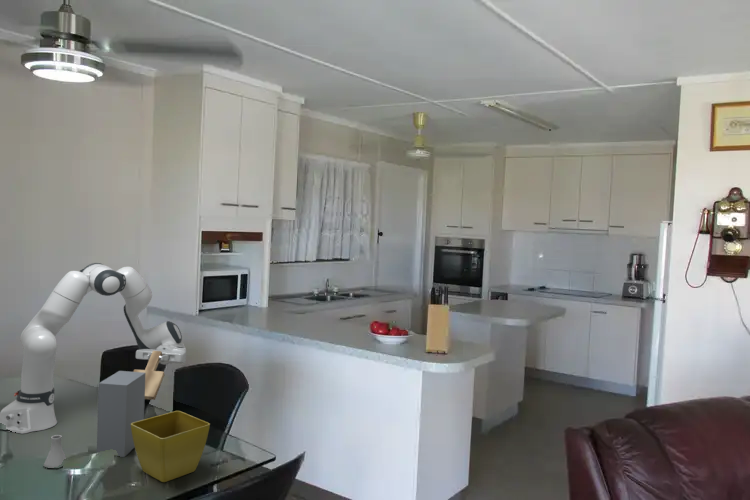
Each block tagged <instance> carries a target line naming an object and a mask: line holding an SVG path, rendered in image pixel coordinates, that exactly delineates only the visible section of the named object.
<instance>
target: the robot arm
mask: <svg viewBox="0 0 750 500" xmlns="http://www.w3.org/2000/svg"><path fill="white" fill-rule="evenodd" d="M92 291H94V292H95V293H98V294H100V296H101V295H102V296H105V297H106V296H107V297H108V296H114V295H115V294H118V293H120V294H121V296H122V298H123V299H124V303H125V304H124V305H123V314H124V316H125V319H126V321H127V323H128V325H129V328H130V330H131V332H132V333H133V336H134V339H135V341H136V345H137V347H138V349H137V350H136V351H135V359H137V360H147V361H149V359H150V357H151V354H152V352H153V351H161V352H162V356H159V360H160V361H159V364H160V365H169V364H170V365H172V364H185V363H186V360H187V348H186V346H185V345H186V344H184V342H183V341H182V340H183V336H182V333H181V332H182V331H181V330H180V328H179V326H178V325H177V324H176V323H174V322H172V321H170V320H169V321H168V320H167V321H165V322H162V323H159V324H157V325H155V326H152V327H151V328H149V329H145V328H144V327H143V325H142V322H141V320H140V319H139V314H141V313H142V312H143V311H144V310H145V309H146V308H147V307H148V306H149V304H150V302H151V300H152V297H153V294H152V289H151V287H150V285H149V284H148V283H147V281H146V279H144V278H143V276H142V275H141V274H140V273H139V272H138V271H137V270H136V269H135V268H134V267H132V266H130V265H129V266H123V267H120V268H119V269H117V270H115V269H113V268H111V267H110V266H108V265H105V264H104V263H101V262H100V263H99V262H92V263H90V264H88V265H86V266H85V267H84V268H82V269H80V270H70V271H68V272H67V273H65V275H64V276H63V277H62V278H61V279H60V280H59V282H58V283H57V284H56V285H55V286H54V288H53V290H52V292H50V294H49V296H48V297H47V299H46V301H45V302H44V303H43V305H42V307H40V309H39V311H37V313H36V314H35V315H34V317H32V319H31V320H30V321H29V322H28V324H27V326H26V327H25V328H24V329H23V330H22V332H21V334H20V338H19V339H20V344H21V345H22V349H23V355H22V356H23V357H22V367H21V371H20V373H21V375H20V377H21V379H20V390H18V391H16V392H14V393H13V397H16V398H15V400H13V401H12V402H10V403H9V404H7V405H6V406H4V407H3V408H2V409H1V410H0V423H2V424H4V425H6V429H8V430H10V431H12V432H11V433H15V432H16V434H28V433H31V432H36V431H37V432H39V431H44V430H47V429H50V428H53V427H54V426H56V425H57V423H58V420H57V417H56V414H55V407H54V402H55V387H54V377H55V376H54V375H55V374H54V372H55V364H56V357H57V348H58V347H57V346H58V341H57V338H56V336H57V335H58V333H59V332H60V331H61V330H62V328H63V327H64V326H65V325H66V324H67V323H69V322H70V320H71V318H72V317H73V315H74V314H75V312H76V311H77V309H78V307H79V306H80V304H81V303H82V301H83V299H84V297H85V296H86V295H87V294H89V293H90V292H92ZM10 431H9V432H10Z"/></svg>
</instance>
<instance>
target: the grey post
mask: <svg viewBox="0 0 750 500" xmlns="http://www.w3.org/2000/svg"><path fill="white" fill-rule="evenodd" d="M145 374H146V373H142V372H133V371H128V370H127V371H126V370H118V371H116V372H115V373H114V374H112V375H110V376H108V377H107V378H104V379H103V380H101V381H100V382H98V391H97V392H98V393H97V394H98V397H97V399H98V400H97V423H96V424H97V431H96V432H97V433H96V453H97V452H100V451H105V450H110V449H113V450H116V451H117V453H118V456H120V458H125V457H126V456H127V455H129V454H130V452H131V451H132V450H133V449H135V446H134V442H133V437H132V431H131V423H133V422H137V421H141V420H144V419H145V400H146V399H145Z"/></svg>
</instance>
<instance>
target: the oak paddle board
mask: <svg viewBox="0 0 750 500" xmlns="http://www.w3.org/2000/svg"><path fill="white" fill-rule="evenodd" d="M159 356H162V352H161V351H153V352H152V354H151V357H150V359H149V360H147V365H146V367H145V369H133V371H132V372H142V373H146V374H145V400H151V401H152V400H156V399H157V395H158V393H159V391H160V388H161V386H162V383H163V380H164V377H165V372H164V371H160V370H157V368H158V367H159V364H160V363H159V361H160V360H159Z"/></svg>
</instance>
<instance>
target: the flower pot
mask: <svg viewBox="0 0 750 500" xmlns="http://www.w3.org/2000/svg"><path fill="white" fill-rule="evenodd" d="M210 425H211V423H209V422H208V421H205V420H203V419H200V418H198V417H195V416H193V415H190V414H188V413H186V412H183V411H181V410H175V411H170V412H167V413H164V414H160V415H156V416H152V417H149V418H144V420H141V421H137V422H133V423H131V431H132V437H133V442H134V446H135V448H134V449H135V452H136V456H137V458H138V462H139V464H140V467H141V470H142V471H143V472H144V473H145V474H147V475H149V476H151V477H152V478H154V479H156V480H158V481H160V482H161V483H167V482H170V481H172V480H175V479H177V478H180V477H183V476H185V475H188V474H190V473H194V472H195V471H196V470H197V467H198V465H199V463H200V460H201V459H202V456H203V453H204V450H205V446H206V443H207V441H208V435H209V431H210Z"/></svg>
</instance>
